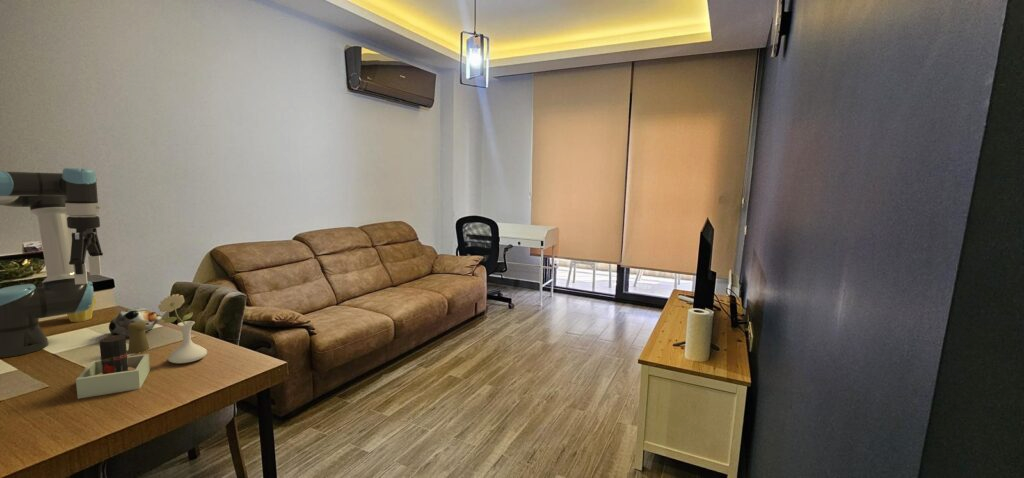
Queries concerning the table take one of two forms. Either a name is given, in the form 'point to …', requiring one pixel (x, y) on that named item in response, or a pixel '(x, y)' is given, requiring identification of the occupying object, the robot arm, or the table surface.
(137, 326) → the cork
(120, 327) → the lucky cat figurine
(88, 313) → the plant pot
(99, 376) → the open box
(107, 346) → the deodorant
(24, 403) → the table surface
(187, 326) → the flower in vase
